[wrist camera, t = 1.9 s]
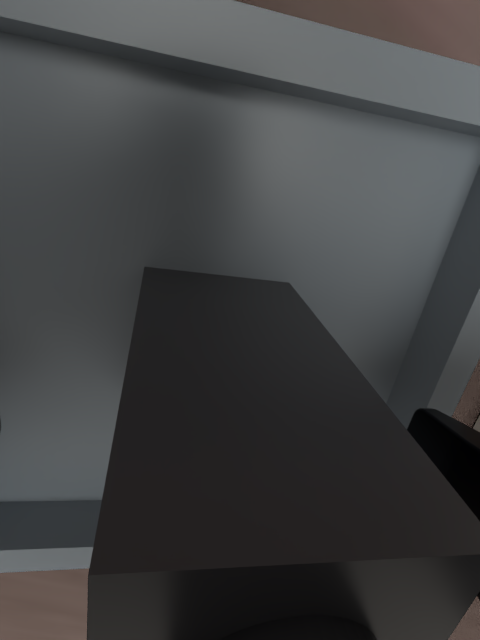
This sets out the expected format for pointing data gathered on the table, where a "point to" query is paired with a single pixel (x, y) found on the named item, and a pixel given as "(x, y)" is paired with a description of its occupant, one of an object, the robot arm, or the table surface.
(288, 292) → the plug
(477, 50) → the table surface
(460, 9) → the table surface
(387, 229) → the tray
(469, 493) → the robot arm
